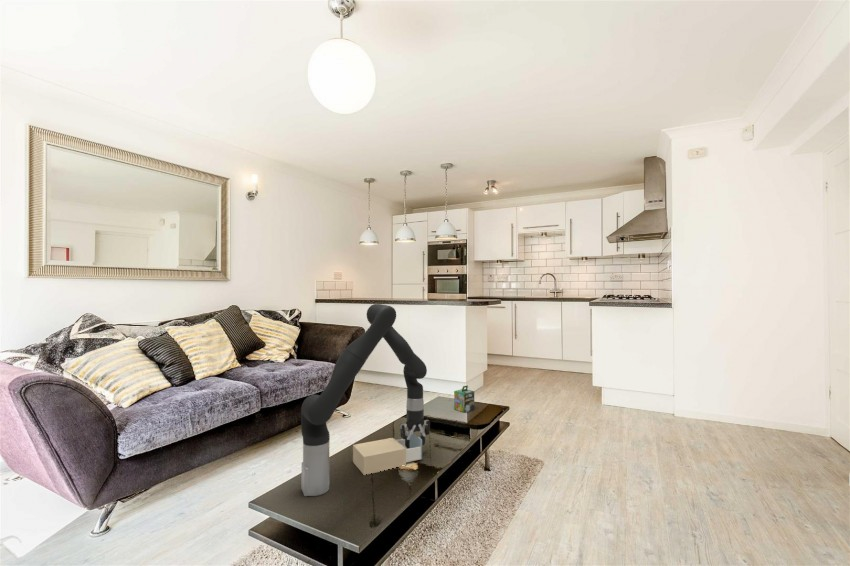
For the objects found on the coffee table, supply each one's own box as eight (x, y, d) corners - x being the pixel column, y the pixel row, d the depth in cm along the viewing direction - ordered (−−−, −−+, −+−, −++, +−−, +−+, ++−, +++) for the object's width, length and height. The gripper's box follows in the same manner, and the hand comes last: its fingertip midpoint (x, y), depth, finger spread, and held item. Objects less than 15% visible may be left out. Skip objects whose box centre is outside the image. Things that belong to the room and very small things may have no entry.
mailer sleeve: (363, 475, 153) (363, 457, 153) (352, 461, 165) (353, 444, 165) (405, 465, 161) (405, 448, 161) (392, 453, 173) (392, 437, 174)
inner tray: (365, 471, 154) (365, 450, 154) (356, 460, 165) (356, 440, 165) (422, 458, 166) (422, 439, 166) (409, 449, 176) (409, 430, 177)
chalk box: (464, 406, 246) (464, 383, 247) (475, 410, 239) (474, 385, 240) (453, 409, 241) (453, 385, 241) (464, 413, 234) (464, 387, 234)
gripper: (403, 412, 165) (403, 452, 164) (433, 407, 172) (433, 446, 171) (396, 407, 171) (396, 446, 171) (425, 403, 178) (425, 440, 178)
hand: (415, 446), depth 171 cm, fingers open, 6 cm apart
